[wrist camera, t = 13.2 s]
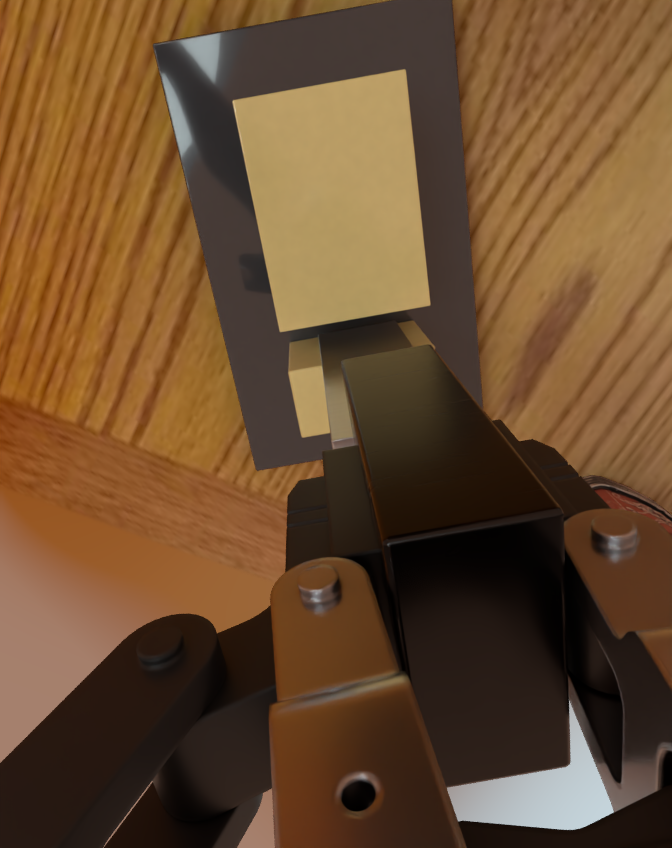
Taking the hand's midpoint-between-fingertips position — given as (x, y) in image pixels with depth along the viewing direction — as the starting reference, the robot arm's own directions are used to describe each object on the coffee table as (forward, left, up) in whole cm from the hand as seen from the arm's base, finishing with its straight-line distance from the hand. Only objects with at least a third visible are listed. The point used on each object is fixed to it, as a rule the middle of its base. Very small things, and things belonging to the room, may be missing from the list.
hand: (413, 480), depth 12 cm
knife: (0, 0, -12) cm, 12 cm away
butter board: (0, +2, -14) cm, 15 cm away
